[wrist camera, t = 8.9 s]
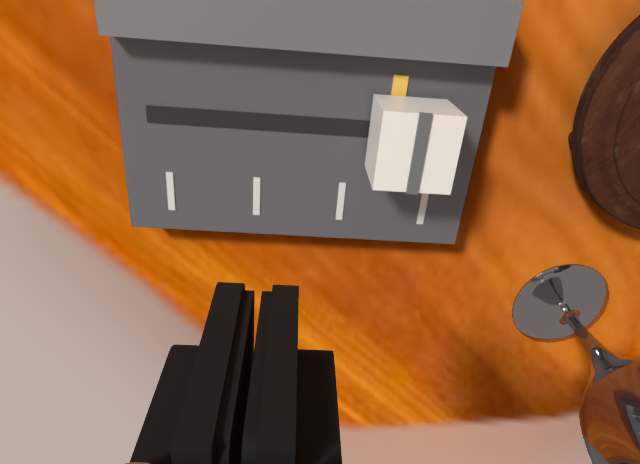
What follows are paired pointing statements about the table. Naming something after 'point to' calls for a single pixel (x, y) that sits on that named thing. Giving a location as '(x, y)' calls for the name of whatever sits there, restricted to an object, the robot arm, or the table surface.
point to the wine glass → (606, 366)
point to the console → (292, 108)
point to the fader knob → (413, 144)
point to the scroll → (612, 129)
